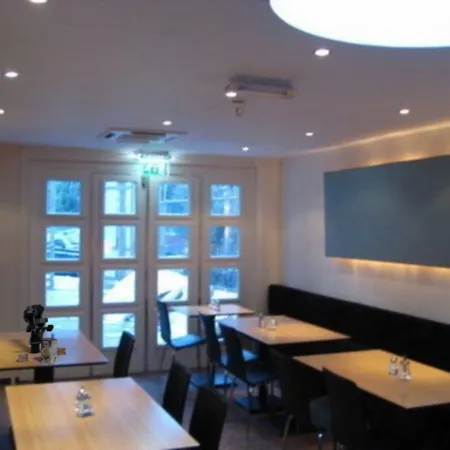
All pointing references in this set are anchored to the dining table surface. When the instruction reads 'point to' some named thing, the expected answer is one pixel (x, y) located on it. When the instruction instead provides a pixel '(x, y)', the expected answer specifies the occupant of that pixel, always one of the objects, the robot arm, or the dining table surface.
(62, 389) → the dining table surface
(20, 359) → the walnut cube
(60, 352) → the walnut cube
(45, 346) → the coffee box
